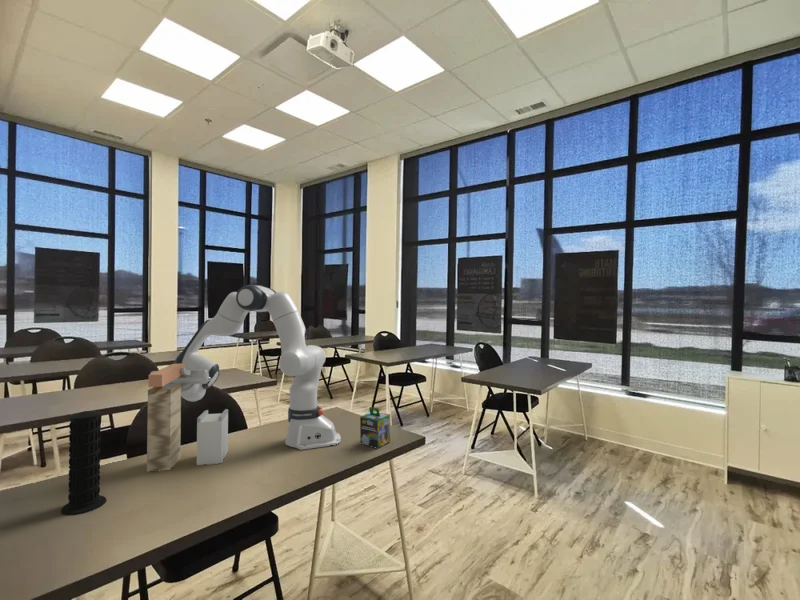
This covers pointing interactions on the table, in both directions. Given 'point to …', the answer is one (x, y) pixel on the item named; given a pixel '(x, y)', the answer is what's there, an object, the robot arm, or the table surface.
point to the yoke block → (212, 437)
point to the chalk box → (375, 428)
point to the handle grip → (84, 464)
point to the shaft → (165, 375)
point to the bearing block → (163, 427)
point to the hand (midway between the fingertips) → (174, 370)
